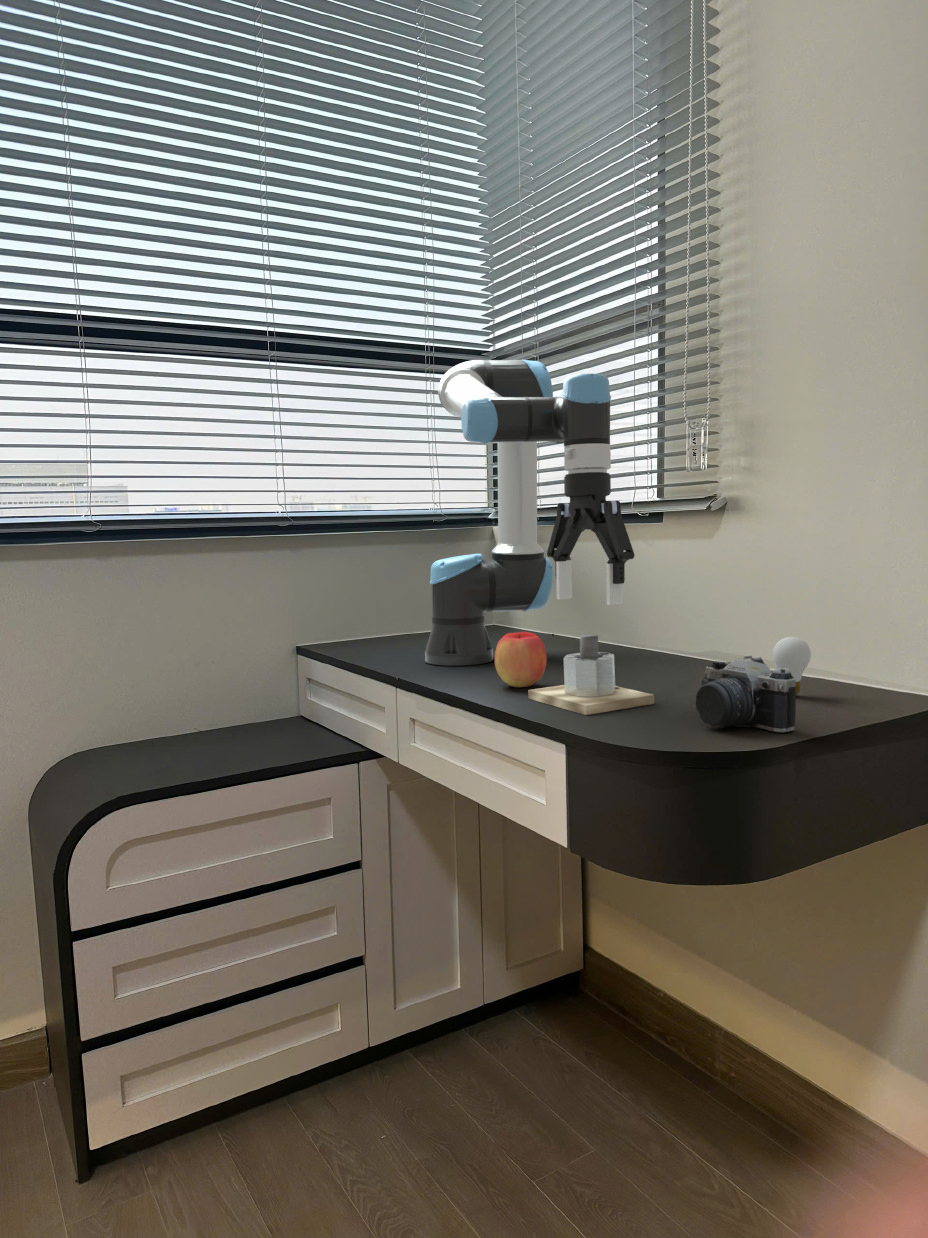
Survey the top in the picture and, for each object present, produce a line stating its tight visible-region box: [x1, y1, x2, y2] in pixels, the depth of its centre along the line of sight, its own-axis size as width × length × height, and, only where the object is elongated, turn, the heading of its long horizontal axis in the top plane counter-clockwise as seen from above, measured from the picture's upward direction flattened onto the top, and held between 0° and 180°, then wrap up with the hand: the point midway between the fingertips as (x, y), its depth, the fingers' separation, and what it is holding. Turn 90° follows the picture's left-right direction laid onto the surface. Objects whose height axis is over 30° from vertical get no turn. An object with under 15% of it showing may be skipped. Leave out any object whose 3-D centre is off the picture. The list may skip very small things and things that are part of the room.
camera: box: [695, 655, 797, 733], centre depth 124 cm, size 16×10×10 cm, turn 29°
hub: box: [563, 651, 616, 697], centre depth 144 cm, size 8×8×6 cm
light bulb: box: [772, 636, 812, 695], centre depth 143 cm, size 6×6×10 cm
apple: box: [494, 631, 548, 688], centre depth 159 cm, size 10×10×10 cm
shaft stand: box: [527, 634, 655, 716], centre depth 144 cm, size 16×14×11 cm
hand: (588, 601), depth 143 cm, fingers open, 13 cm apart
